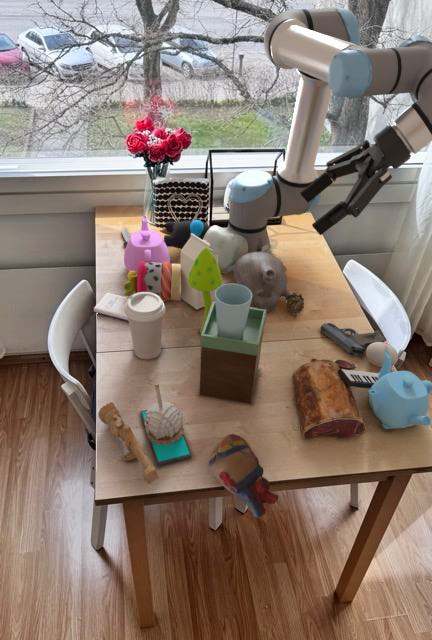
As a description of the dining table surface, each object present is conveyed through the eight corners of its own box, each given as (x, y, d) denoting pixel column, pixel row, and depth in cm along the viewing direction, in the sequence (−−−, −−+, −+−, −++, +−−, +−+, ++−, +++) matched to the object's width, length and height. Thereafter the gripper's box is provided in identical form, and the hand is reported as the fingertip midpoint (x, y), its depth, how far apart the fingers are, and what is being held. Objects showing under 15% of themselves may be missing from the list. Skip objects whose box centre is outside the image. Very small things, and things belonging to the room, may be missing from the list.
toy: (165, 210, 163) (215, 213, 162) (168, 236, 173) (215, 239, 172) (162, 232, 159) (213, 235, 158) (165, 258, 169) (213, 261, 168)
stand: (210, 361, 134) (212, 312, 124) (258, 369, 133) (264, 320, 123) (199, 395, 126) (200, 346, 116) (250, 404, 125) (256, 355, 114)
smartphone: (157, 463, 111) (140, 411, 120) (157, 466, 111) (140, 413, 121) (192, 455, 112) (172, 404, 122) (192, 457, 113) (172, 406, 123)
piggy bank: (295, 312, 147) (273, 276, 138) (242, 331, 154) (218, 298, 145) (292, 270, 159) (272, 234, 149) (243, 289, 165) (220, 256, 156)
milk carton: (196, 310, 149) (198, 249, 135) (180, 298, 152) (180, 237, 139) (216, 300, 152) (219, 240, 139) (200, 289, 156) (201, 228, 142)
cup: (254, 340, 117) (258, 300, 109) (221, 348, 114) (223, 308, 107) (239, 319, 122) (242, 280, 114) (207, 327, 119) (208, 287, 112)
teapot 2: (348, 417, 122) (364, 381, 114) (369, 382, 130) (385, 347, 122) (414, 450, 117) (435, 415, 109) (431, 412, 126) (451, 377, 118)
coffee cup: (150, 333, 141) (147, 284, 131) (174, 351, 136) (173, 302, 126) (120, 349, 136) (115, 300, 126) (144, 369, 131) (141, 320, 121)
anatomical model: (198, 454, 114) (240, 510, 115) (204, 464, 101) (251, 528, 103) (234, 427, 114) (275, 483, 116) (245, 434, 102) (290, 497, 103)
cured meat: (351, 359, 137) (358, 338, 132) (382, 436, 119) (390, 415, 115) (281, 361, 135) (284, 340, 130) (301, 439, 118) (306, 418, 113)
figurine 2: (375, 330, 135) (370, 352, 140) (364, 342, 132) (359, 363, 136) (405, 342, 132) (399, 364, 136) (395, 355, 128) (389, 376, 133)
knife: (110, 228, 175) (125, 225, 177) (111, 232, 176) (125, 229, 178) (133, 254, 165) (148, 250, 167) (133, 258, 166) (148, 254, 168)
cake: (179, 288, 156) (126, 285, 155) (180, 255, 149) (125, 251, 148) (178, 309, 149) (123, 306, 147) (180, 275, 142) (122, 272, 140)
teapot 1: (173, 284, 157) (172, 248, 148) (126, 287, 155) (122, 250, 146) (166, 248, 170) (165, 212, 162) (123, 249, 169) (120, 214, 160)
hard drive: (136, 323, 144) (94, 312, 146) (149, 306, 149) (107, 296, 152) (136, 318, 142) (93, 308, 145) (148, 301, 148) (107, 291, 151)
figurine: (147, 492, 107) (100, 429, 118) (165, 481, 109) (116, 419, 120) (141, 471, 102) (92, 407, 113) (160, 460, 103) (109, 397, 115)
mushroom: (197, 318, 146) (199, 234, 129) (225, 328, 144) (230, 244, 126) (181, 335, 141) (180, 250, 123) (209, 346, 138) (213, 261, 121)
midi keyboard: (390, 373, 132) (403, 387, 129) (387, 377, 133) (399, 391, 130) (340, 367, 123) (352, 382, 119) (336, 372, 123) (348, 386, 120)
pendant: (308, 293, 150) (296, 285, 147) (308, 317, 147) (296, 309, 144) (294, 300, 153) (282, 293, 150) (294, 323, 150) (281, 316, 147)
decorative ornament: (160, 414, 121) (151, 365, 110) (190, 426, 118) (183, 377, 107) (140, 438, 116) (128, 390, 105) (170, 452, 113) (162, 404, 103)
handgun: (352, 309, 148) (320, 324, 143) (391, 337, 140) (359, 353, 135) (350, 316, 150) (318, 331, 144) (388, 344, 142) (356, 361, 137)
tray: (212, 312, 124) (212, 301, 122) (265, 320, 123) (266, 309, 120) (200, 346, 115) (200, 335, 113) (257, 356, 114) (258, 344, 112)
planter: (245, 230, 152) (211, 218, 155) (227, 272, 152) (194, 259, 155) (255, 244, 163) (223, 233, 166) (238, 283, 164) (207, 270, 167)
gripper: (433, 183, 96) (332, 257, 105) (392, 129, 113) (309, 197, 123) (413, 152, 91) (310, 232, 101) (373, 101, 109) (289, 173, 119)
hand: (309, 213), depth 112 cm, fingers open, 13 cm apart
